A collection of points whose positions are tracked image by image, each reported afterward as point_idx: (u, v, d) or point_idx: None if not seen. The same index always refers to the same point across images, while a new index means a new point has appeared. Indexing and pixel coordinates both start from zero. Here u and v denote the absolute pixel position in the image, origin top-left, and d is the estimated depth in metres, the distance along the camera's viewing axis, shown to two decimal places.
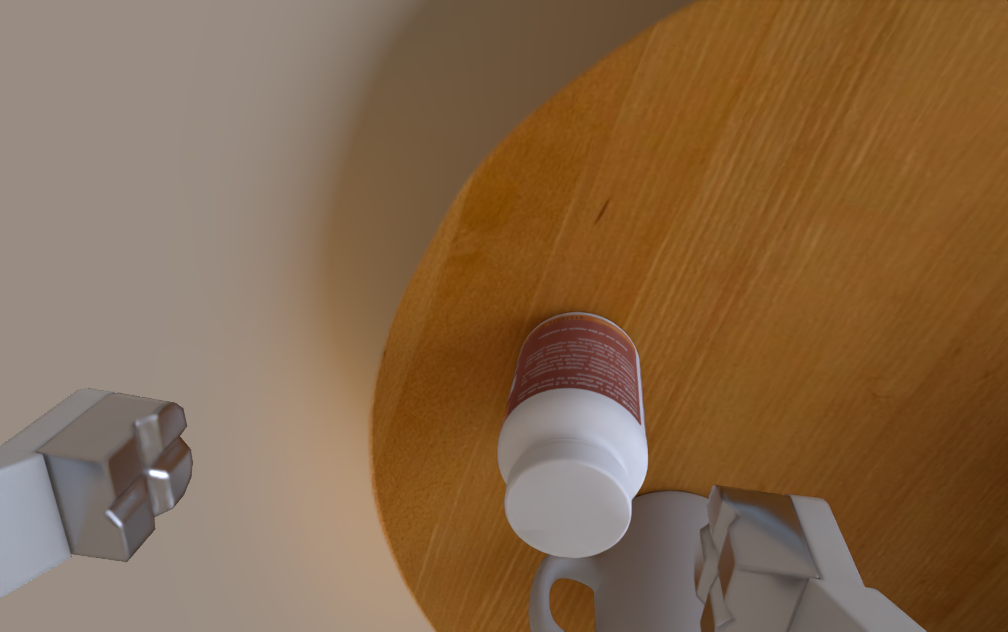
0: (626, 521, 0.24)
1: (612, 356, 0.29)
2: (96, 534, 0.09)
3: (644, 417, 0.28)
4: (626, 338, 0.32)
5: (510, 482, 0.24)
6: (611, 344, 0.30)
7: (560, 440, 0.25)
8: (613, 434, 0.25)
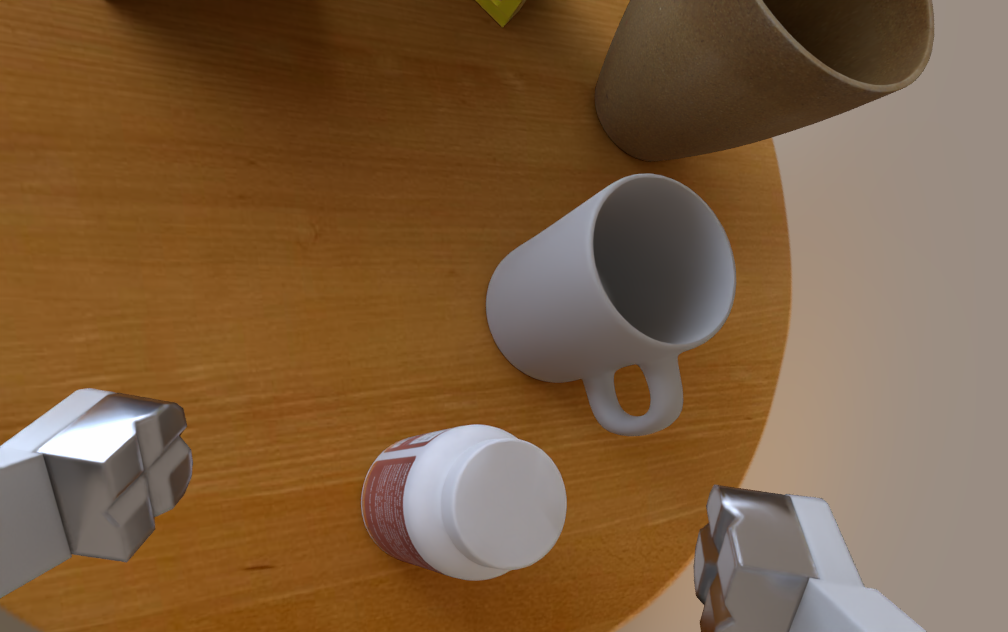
0: (492, 446, 0.25)
1: (379, 496, 0.29)
2: (96, 534, 0.09)
3: (415, 445, 0.29)
4: (368, 476, 0.32)
5: (513, 569, 0.24)
6: (373, 497, 0.30)
7: None
8: (428, 488, 0.26)
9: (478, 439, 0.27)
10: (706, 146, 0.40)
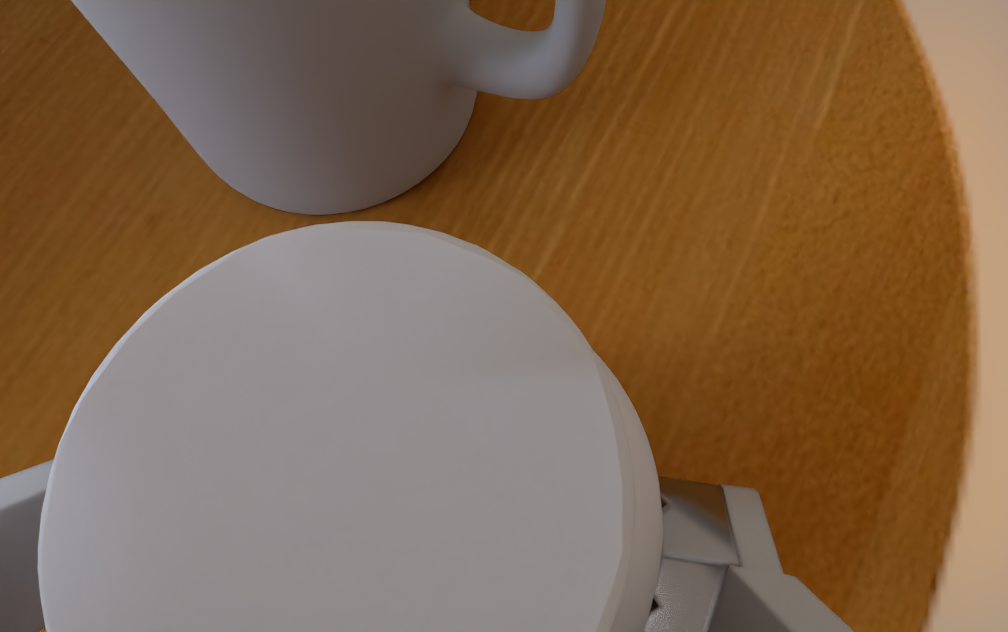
0: (76, 426, 0.05)
1: None
2: None
3: None
4: None
5: None
6: None
7: None
8: None
9: None
10: None
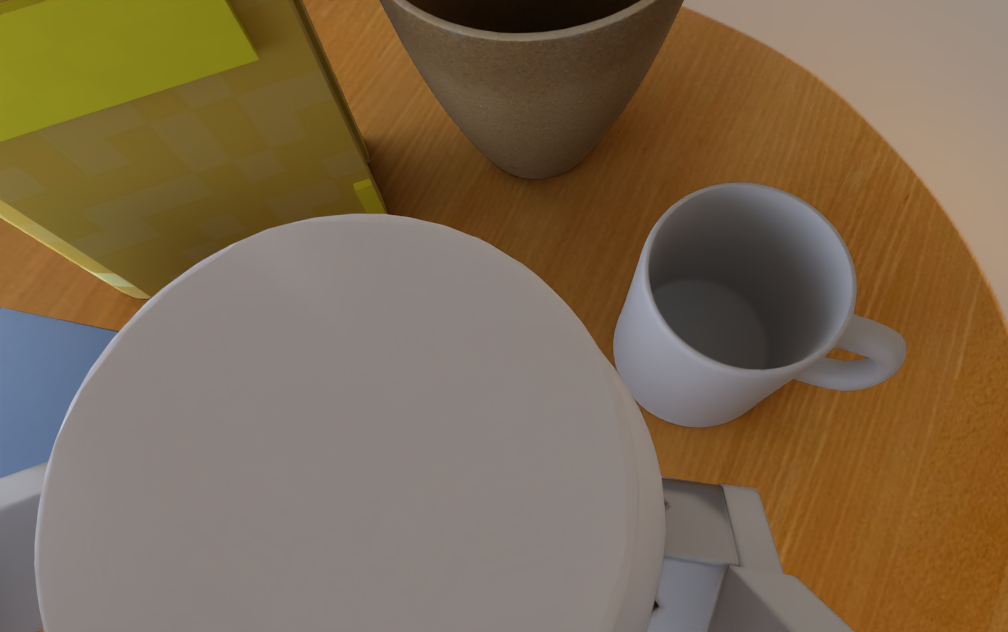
0: (73, 420, 0.05)
1: None
2: None
3: None
4: None
5: None
6: None
7: None
8: None
9: None
10: (625, 106, 0.35)
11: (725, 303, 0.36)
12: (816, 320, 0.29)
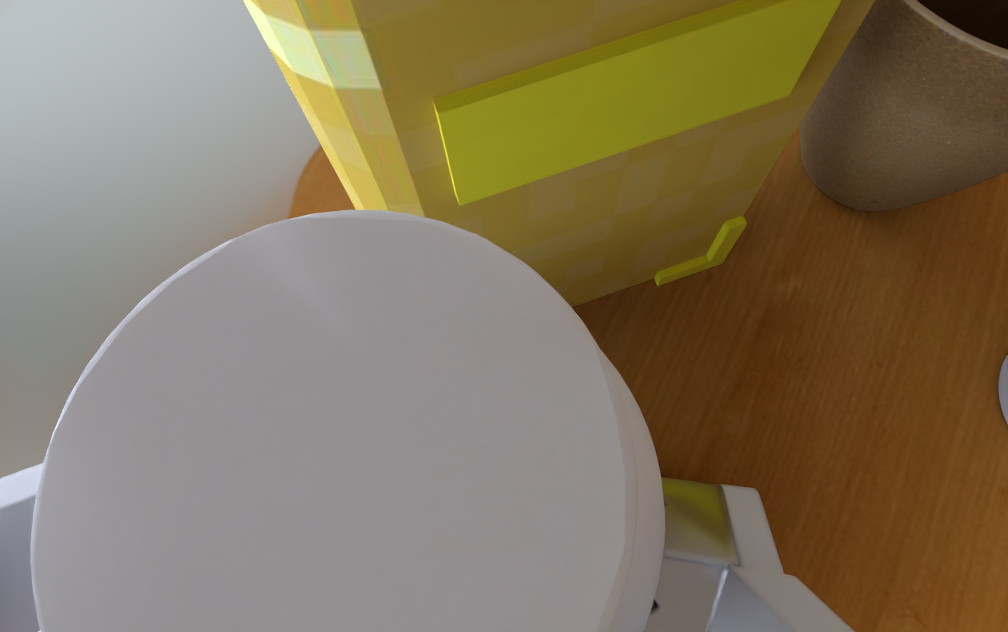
0: (70, 417, 0.05)
1: None
2: None
3: None
4: None
5: None
6: None
7: None
8: None
9: None
10: None
11: None
12: None
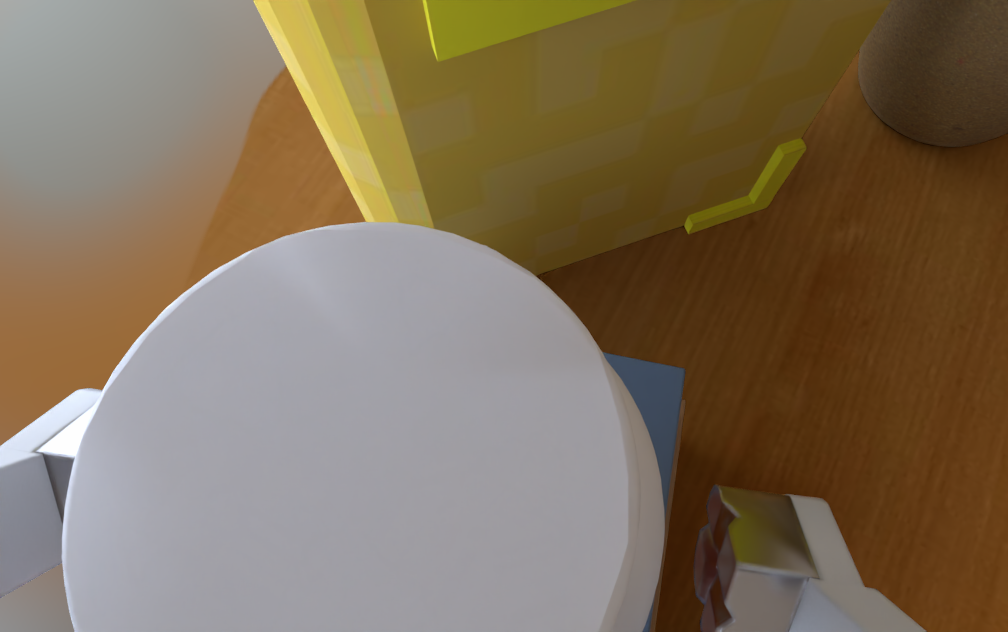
0: (98, 420, 0.06)
1: None
2: None
3: None
4: None
5: None
6: None
7: None
8: None
9: None
10: None
11: None
12: None
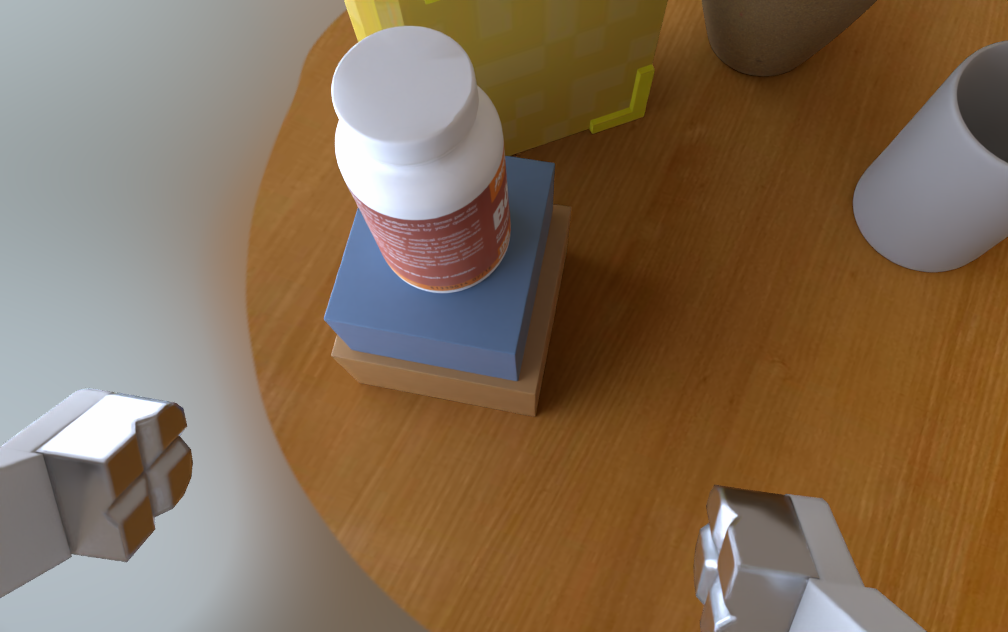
0: (337, 72, 0.22)
1: (388, 248, 0.27)
2: (96, 534, 0.09)
3: None
4: (388, 263, 0.30)
5: (463, 115, 0.21)
6: (394, 260, 0.28)
7: (410, 164, 0.22)
8: (360, 169, 0.23)
9: None
10: None
11: None
12: None
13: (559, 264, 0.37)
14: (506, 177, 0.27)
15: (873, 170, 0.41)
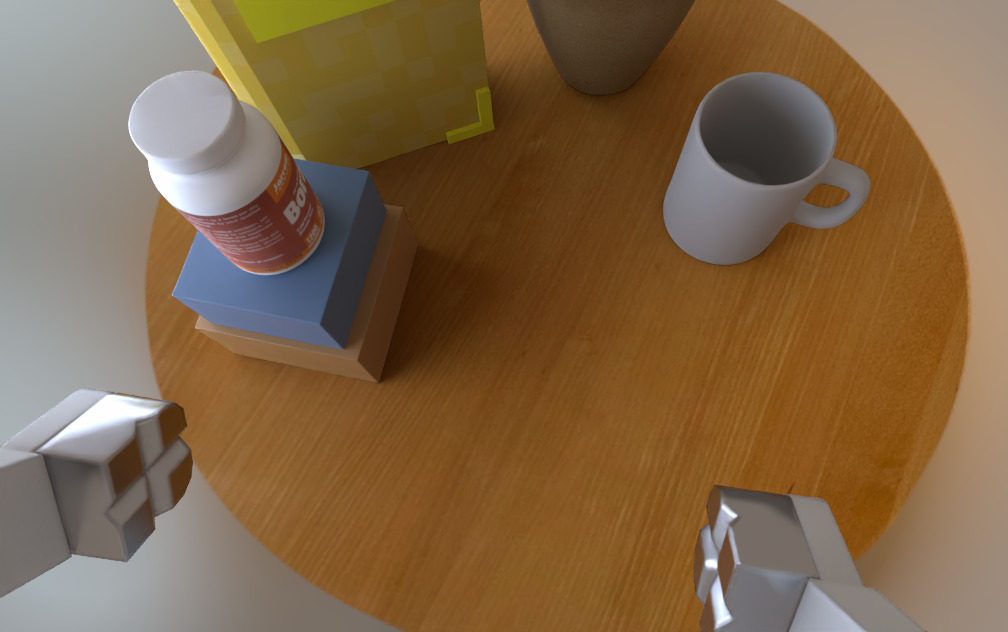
0: (134, 105, 0.29)
1: (207, 238, 0.35)
2: (96, 534, 0.09)
3: None
4: None
5: (222, 138, 0.29)
6: (217, 247, 0.36)
7: (189, 174, 0.29)
8: (161, 177, 0.31)
9: None
10: (673, 33, 0.48)
11: (744, 178, 0.50)
12: (810, 168, 0.42)
13: (388, 254, 0.44)
14: (297, 183, 0.34)
15: None
